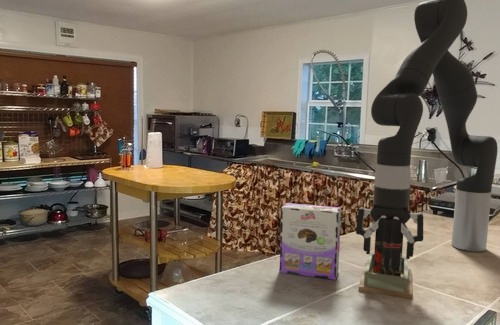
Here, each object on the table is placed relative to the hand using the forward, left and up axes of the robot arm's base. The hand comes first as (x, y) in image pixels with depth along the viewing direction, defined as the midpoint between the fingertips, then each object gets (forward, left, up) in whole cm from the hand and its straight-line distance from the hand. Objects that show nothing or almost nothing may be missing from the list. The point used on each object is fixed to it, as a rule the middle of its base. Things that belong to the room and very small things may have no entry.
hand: (387, 255), depth 97 cm
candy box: (-1, -18, -7) cm, 19 cm away
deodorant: (0, 0, -6) cm, 6 cm away
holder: (-3, 0, -7) cm, 8 cm away
